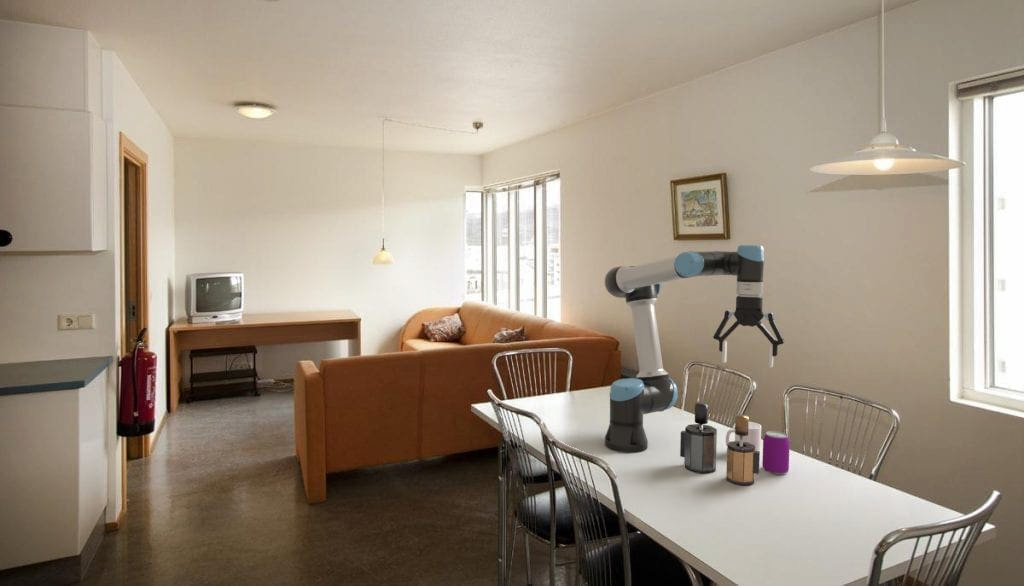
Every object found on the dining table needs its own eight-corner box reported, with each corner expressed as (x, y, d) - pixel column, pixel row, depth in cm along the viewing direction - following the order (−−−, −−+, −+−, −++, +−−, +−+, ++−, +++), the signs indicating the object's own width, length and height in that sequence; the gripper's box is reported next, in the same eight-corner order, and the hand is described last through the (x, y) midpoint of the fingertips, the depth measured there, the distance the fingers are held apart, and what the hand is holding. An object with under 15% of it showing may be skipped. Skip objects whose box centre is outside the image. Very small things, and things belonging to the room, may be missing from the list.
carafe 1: (676, 469, 190) (677, 429, 189) (684, 459, 199) (685, 421, 198) (711, 475, 185) (712, 434, 184) (718, 466, 193) (719, 426, 192)
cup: (765, 457, 201) (766, 428, 200) (730, 458, 200) (731, 429, 199) (752, 449, 209) (753, 420, 208) (720, 450, 208) (720, 421, 207)
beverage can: (768, 464, 194) (769, 428, 193) (792, 471, 189) (793, 434, 188) (758, 470, 189) (759, 433, 188) (782, 477, 183) (784, 439, 182)
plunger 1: (687, 461, 190) (688, 404, 189) (692, 455, 196) (693, 400, 194) (708, 465, 187) (709, 407, 185) (713, 459, 192) (714, 402, 191)
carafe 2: (723, 482, 180) (724, 446, 179) (729, 473, 187) (730, 439, 186) (755, 488, 175) (757, 452, 174) (760, 479, 182) (761, 444, 181)
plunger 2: (729, 474, 180) (731, 416, 179) (733, 469, 184) (734, 412, 183) (747, 478, 177) (749, 419, 176) (750, 472, 182) (752, 415, 180)
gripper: (704, 294, 185) (702, 362, 187) (792, 298, 172) (790, 370, 174) (710, 293, 191) (708, 358, 193) (795, 296, 178) (793, 366, 180)
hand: (747, 364), depth 183 cm, fingers open, 13 cm apart
